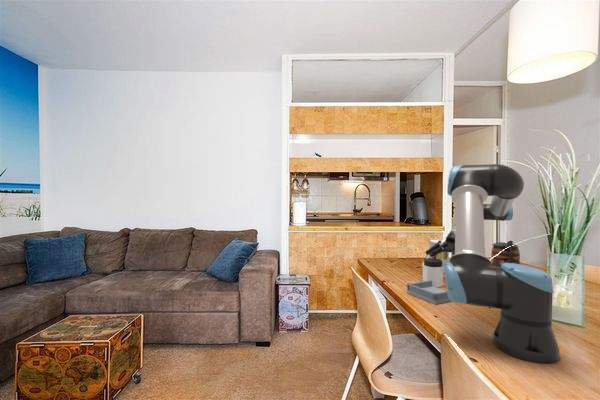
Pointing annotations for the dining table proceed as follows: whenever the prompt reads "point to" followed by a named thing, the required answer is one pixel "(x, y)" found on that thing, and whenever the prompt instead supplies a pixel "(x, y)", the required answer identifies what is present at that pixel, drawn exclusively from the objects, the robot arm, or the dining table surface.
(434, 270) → the jar
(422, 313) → the dining table surface
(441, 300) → the dock bay
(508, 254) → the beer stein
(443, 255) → the supplement box
